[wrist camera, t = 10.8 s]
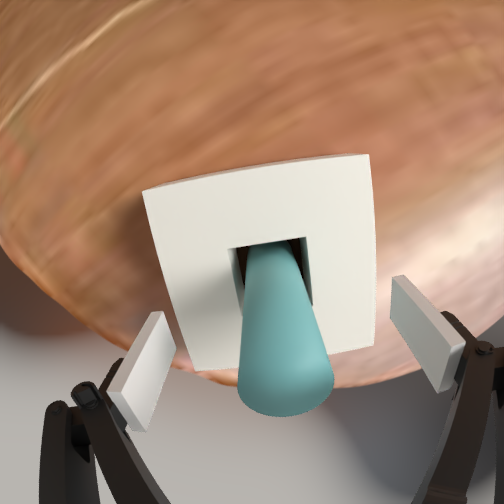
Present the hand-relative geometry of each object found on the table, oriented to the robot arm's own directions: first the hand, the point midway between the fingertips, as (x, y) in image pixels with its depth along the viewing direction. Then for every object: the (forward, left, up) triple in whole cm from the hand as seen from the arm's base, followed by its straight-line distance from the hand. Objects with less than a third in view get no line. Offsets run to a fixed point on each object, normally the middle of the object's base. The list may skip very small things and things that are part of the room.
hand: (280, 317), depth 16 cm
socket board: (0, 0, -11) cm, 11 cm away
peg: (0, 0, -11) cm, 11 cm away
